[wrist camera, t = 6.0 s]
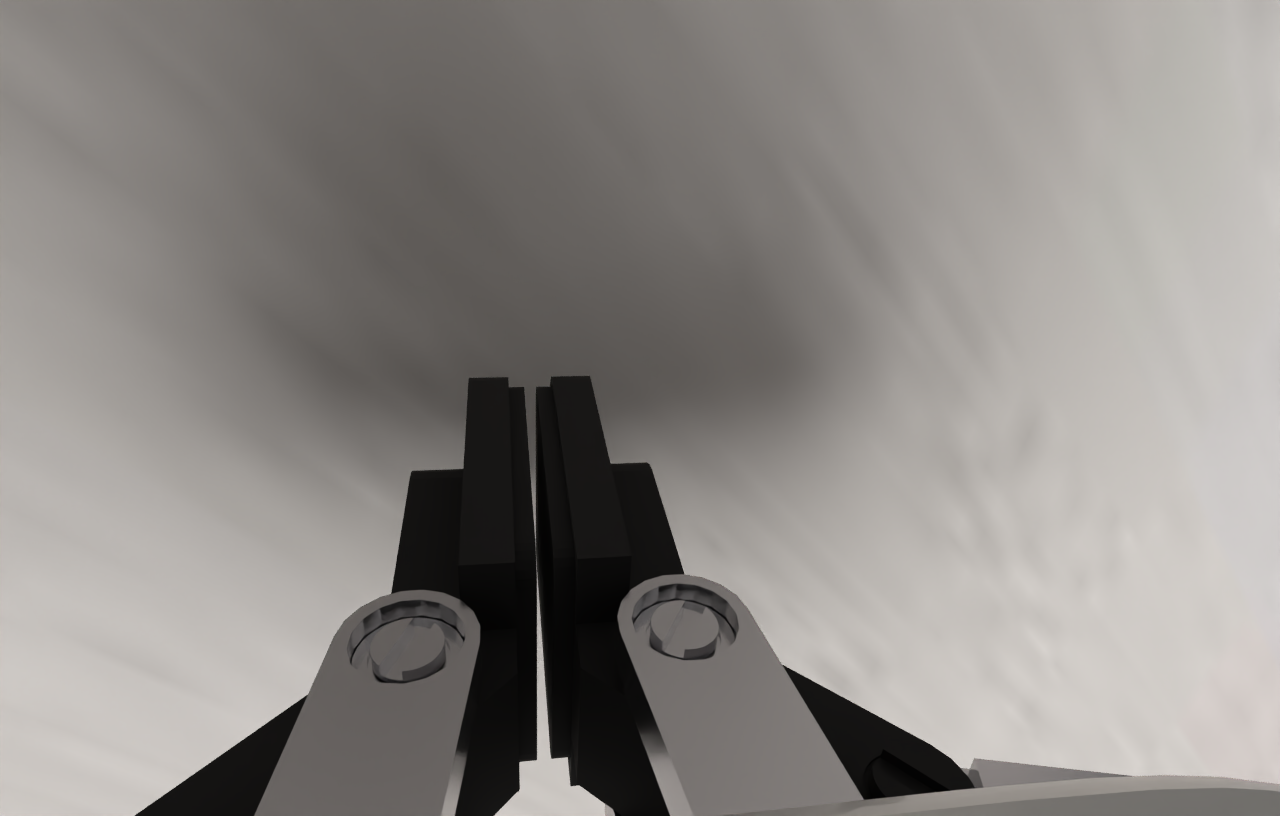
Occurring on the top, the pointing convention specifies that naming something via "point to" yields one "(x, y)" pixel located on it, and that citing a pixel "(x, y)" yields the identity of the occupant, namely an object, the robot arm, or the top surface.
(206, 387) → the top surface
